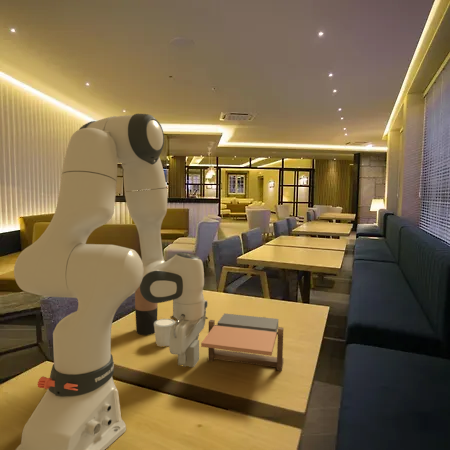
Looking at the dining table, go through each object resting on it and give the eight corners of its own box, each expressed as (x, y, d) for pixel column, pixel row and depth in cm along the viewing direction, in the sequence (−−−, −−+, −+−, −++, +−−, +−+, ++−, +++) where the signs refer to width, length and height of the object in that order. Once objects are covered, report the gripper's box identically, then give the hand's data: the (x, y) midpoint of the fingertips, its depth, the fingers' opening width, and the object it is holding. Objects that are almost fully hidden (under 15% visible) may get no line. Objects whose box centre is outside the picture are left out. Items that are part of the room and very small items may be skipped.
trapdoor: (271, 360, 85) (271, 351, 85) (201, 351, 90) (201, 342, 90) (279, 326, 106) (280, 319, 106) (222, 320, 111) (222, 313, 110)
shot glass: (171, 348, 110) (170, 327, 110) (150, 346, 112) (150, 325, 111) (178, 339, 117) (178, 319, 116) (158, 337, 118) (158, 317, 118)
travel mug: (155, 325, 129) (155, 272, 126) (159, 333, 121) (159, 277, 119) (134, 328, 126) (133, 273, 124) (137, 336, 119) (136, 279, 117)
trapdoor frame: (281, 371, 97) (283, 329, 96) (208, 360, 103) (208, 321, 101) (283, 362, 102) (284, 323, 101) (212, 353, 107) (213, 315, 106)
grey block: (193, 367, 99) (193, 347, 98) (177, 365, 100) (177, 345, 99) (199, 359, 104) (199, 340, 103) (183, 357, 105) (183, 338, 104)
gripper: (186, 323, 89) (186, 375, 91) (209, 299, 109) (209, 341, 111) (163, 321, 91) (163, 371, 92) (190, 297, 111) (190, 339, 112)
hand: (188, 355), depth 102 cm, fingers open, 8 cm apart
